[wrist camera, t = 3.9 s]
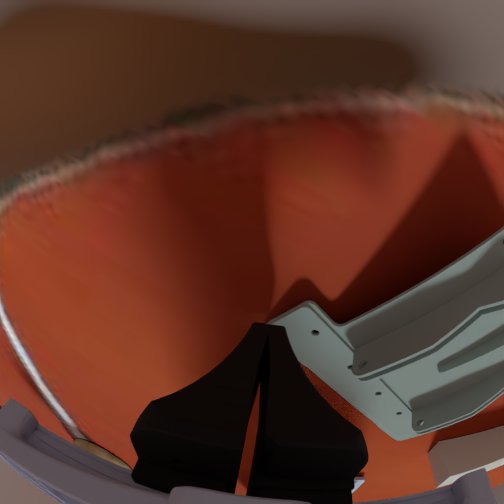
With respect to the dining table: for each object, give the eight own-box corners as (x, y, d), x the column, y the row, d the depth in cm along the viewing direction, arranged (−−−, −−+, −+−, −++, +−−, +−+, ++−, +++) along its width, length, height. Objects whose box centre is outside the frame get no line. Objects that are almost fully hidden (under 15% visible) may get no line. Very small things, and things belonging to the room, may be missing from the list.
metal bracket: (542, 176, 5) (561, 389, 7) (476, 140, 9) (538, 327, 12) (233, 360, 13) (380, 462, 15) (268, 287, 17) (387, 402, 20)
